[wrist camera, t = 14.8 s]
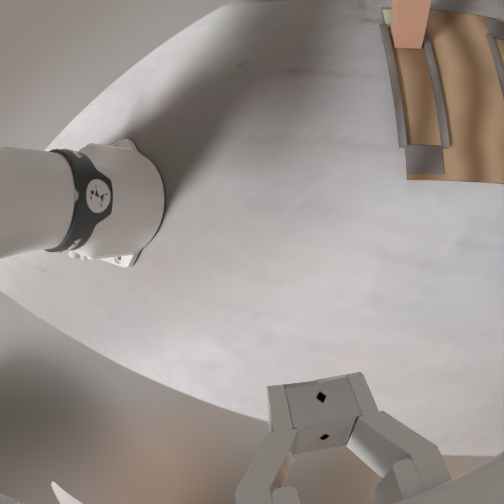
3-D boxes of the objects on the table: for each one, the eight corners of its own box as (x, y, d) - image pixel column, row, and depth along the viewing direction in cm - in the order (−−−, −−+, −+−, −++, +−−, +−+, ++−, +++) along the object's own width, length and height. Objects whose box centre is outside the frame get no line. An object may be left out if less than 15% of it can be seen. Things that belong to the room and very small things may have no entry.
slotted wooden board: (400, 179, 31) (401, 177, 29) (375, 12, 29) (374, 4, 27) (541, 187, 25) (549, 185, 23) (505, 25, 22) (509, 18, 21)
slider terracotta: (394, 47, 28) (397, -10, 18) (390, 30, 28) (390, -29, 17) (421, 48, 27) (432, -8, 17) (416, 31, 27) (424, -27, 16)
